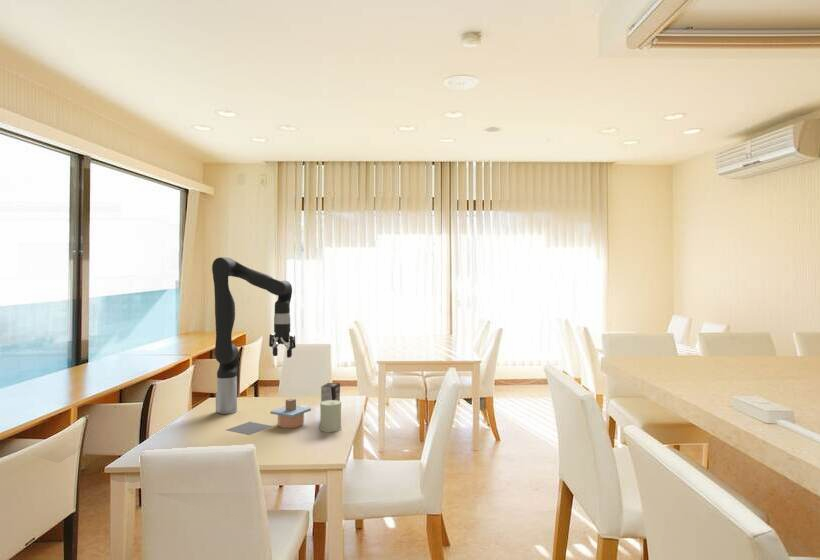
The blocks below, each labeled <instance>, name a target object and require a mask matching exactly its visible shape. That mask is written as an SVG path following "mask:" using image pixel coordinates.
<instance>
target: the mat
mask: <svg viewBox="0 0 820 560" xmlns="http://www.w3.org/2000/svg"><path fill="white" fill-rule="evenodd" d="M272 427H273V425H269V424H265V423H264V424H263V423H259V422H253V421H248V422H245V423H242V424H239V425H237V426H233V427H230V428H227V429H226V431H227V432H232V433H237V434H238V433H239V434H243V435H248V436H250V435H253V434H256V433H258V432H260V431H261V432H262V431H263V430H266V429H269V428H272Z"/></svg>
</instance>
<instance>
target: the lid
mask: <svg viewBox="0 0 820 560" xmlns="http://www.w3.org/2000/svg"><path fill="white" fill-rule="evenodd" d="M311 411H312V408H311V407H304V406H298V405H297V399H295V398H288V399H285V405H284V406H282V407H279V408H277V409H276V408H275V409H274V410H271V411H270V412H269V413H270V415H271V414H272V415H277V416H278V415H281V416H287V417H295V416H298V415H300V414H303V413H304V414H305V413H309V412H311Z"/></svg>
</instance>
